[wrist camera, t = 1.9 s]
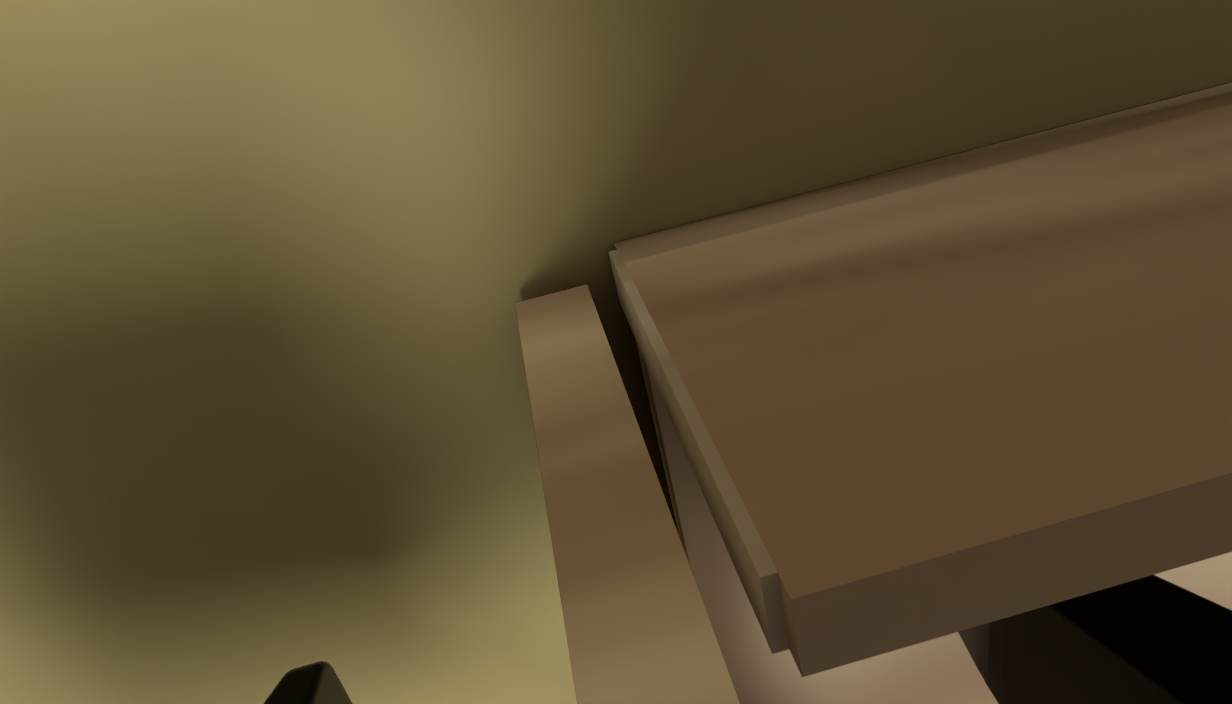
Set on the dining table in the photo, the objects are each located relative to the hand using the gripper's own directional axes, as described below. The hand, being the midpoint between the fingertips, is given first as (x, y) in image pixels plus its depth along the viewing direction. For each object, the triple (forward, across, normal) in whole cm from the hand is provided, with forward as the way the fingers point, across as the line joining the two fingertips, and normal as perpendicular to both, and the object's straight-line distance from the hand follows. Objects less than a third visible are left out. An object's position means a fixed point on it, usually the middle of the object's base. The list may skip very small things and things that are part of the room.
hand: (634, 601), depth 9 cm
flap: (+1, 0, +5) cm, 5 cm away
